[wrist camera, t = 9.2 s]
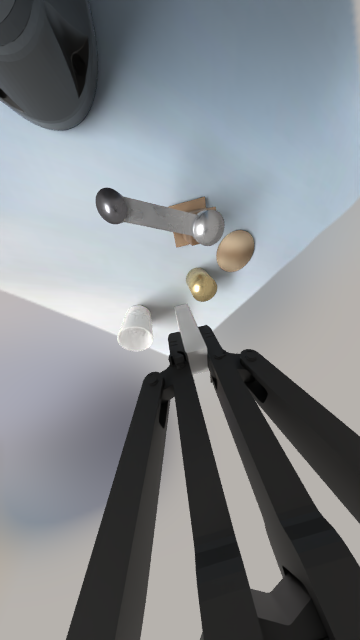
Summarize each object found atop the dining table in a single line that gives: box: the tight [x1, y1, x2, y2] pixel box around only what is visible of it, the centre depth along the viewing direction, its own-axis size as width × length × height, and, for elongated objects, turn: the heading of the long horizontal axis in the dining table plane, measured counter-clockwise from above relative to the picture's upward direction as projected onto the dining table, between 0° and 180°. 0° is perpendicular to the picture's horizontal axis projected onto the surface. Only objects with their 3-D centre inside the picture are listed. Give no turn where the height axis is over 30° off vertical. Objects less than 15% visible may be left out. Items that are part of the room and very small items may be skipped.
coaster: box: [217, 230, 254, 272], centre depth 33 cm, size 9×9×1 cm
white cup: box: [117, 305, 153, 351], centre depth 36 cm, size 8×8×10 cm
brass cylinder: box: [186, 268, 217, 302], centre depth 33 cm, size 6×6×7 cm
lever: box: [96, 188, 224, 246], centre depth 18 cm, size 16×4×2 cm, turn 79°
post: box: [168, 197, 216, 247], centre depth 24 cm, size 7×7×10 cm
